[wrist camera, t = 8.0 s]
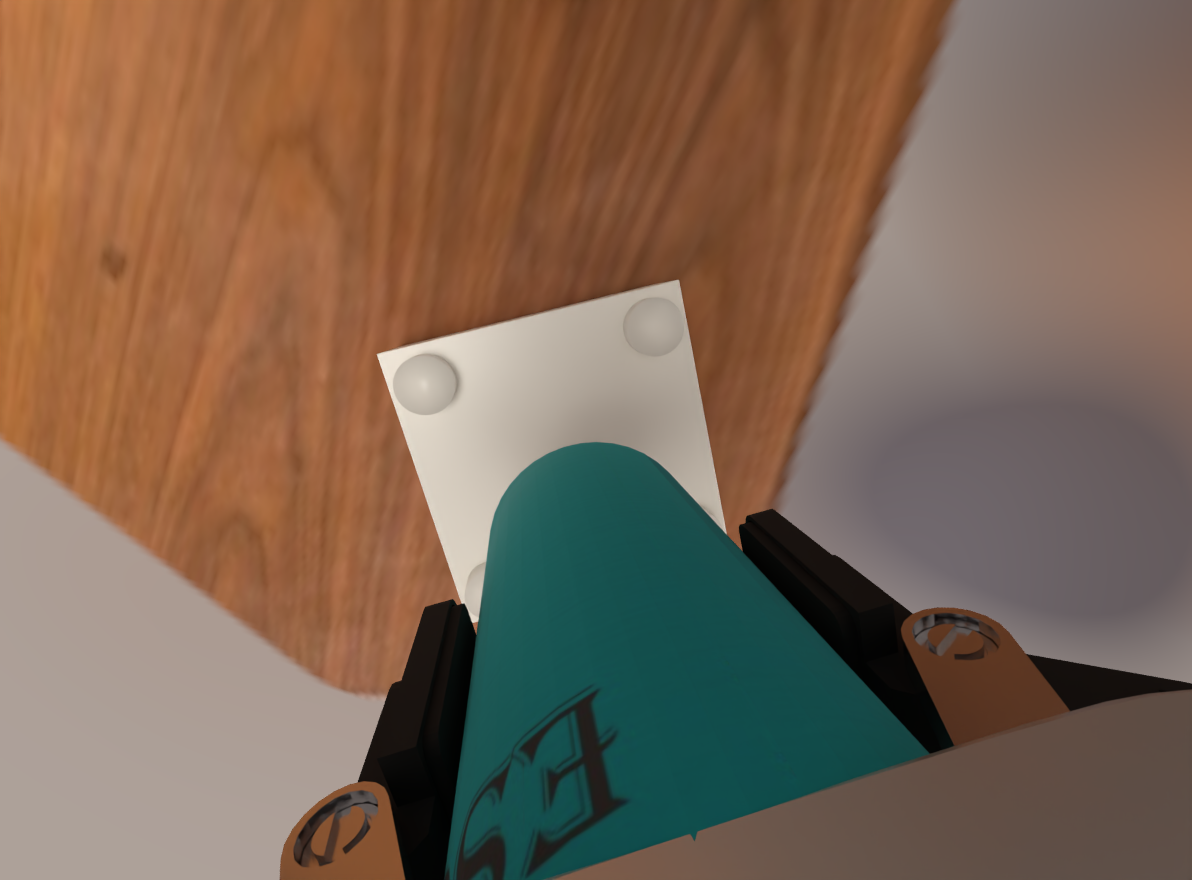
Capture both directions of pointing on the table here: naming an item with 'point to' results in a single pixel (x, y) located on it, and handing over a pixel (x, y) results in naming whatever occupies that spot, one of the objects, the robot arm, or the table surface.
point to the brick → (547, 407)
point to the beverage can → (638, 678)
